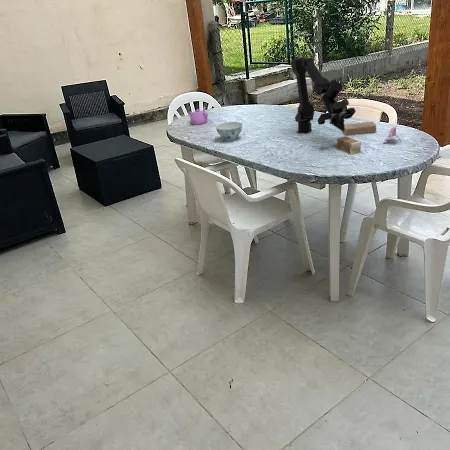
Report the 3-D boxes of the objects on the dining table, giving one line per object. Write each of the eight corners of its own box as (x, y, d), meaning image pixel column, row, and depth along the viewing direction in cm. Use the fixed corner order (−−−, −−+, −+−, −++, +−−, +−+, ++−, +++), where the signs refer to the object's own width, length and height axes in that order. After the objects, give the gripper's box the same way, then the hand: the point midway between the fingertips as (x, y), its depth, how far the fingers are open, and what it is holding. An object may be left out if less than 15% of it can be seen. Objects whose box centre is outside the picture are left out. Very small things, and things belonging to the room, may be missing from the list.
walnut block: (336, 138, 218) (351, 144, 208) (345, 136, 219) (360, 141, 209) (336, 148, 220) (351, 154, 210) (345, 146, 221) (360, 152, 211)
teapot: (207, 119, 301) (205, 106, 297) (209, 124, 289) (207, 110, 285) (189, 121, 300) (187, 108, 296) (191, 126, 288) (189, 113, 284)
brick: (344, 136, 236) (344, 127, 234) (341, 132, 244) (341, 123, 241) (376, 133, 235) (377, 124, 233) (372, 129, 242) (373, 120, 240)
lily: (393, 138, 227) (384, 122, 224) (413, 133, 217) (404, 116, 214) (382, 152, 222) (373, 136, 219) (402, 147, 212) (393, 130, 209)
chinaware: (230, 133, 263) (229, 120, 260) (249, 137, 253) (247, 123, 250) (212, 140, 254) (210, 127, 251) (230, 144, 244) (229, 130, 241)
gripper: (320, 97, 210) (333, 125, 205) (354, 90, 215) (367, 117, 210) (312, 111, 220) (324, 137, 216) (344, 104, 225) (357, 130, 221)
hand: (343, 130), depth 215 cm, fingers closed
